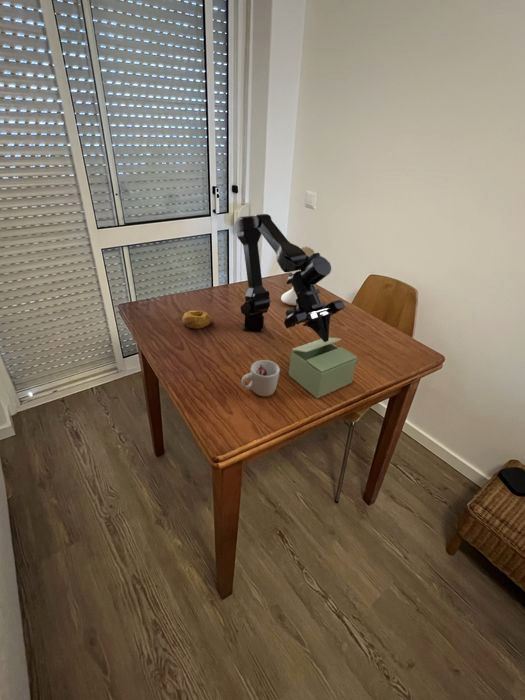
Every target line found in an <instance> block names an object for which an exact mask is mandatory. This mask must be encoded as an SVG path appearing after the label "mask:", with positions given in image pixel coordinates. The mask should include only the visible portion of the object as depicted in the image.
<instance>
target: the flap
mask: <svg viewBox="0 0 525 700" xmlns="http://www.w3.org/2000/svg"><path fill="white" fill-rule="evenodd" d="M339 341H342V338H338V337H329V340H328V341H327V342H324V341H323V340H322V339H321V338H320V339H316V340H314V341H311V342H308V343H305V344H302V345H298V346H297V347H294V348H291V351H300V352H309V351H311V350H314V349H317V348H320V347H323V346H325V345H328V344H331V343H332V344H334V343H336V342H339Z"/></svg>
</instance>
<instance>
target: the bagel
mask: <svg viewBox="0 0 525 700" xmlns="http://www.w3.org/2000/svg"><path fill="white" fill-rule="evenodd" d="M181 320H182V323H183V324H184V325H185V326H186V327H187V328H190V329H195V330H197V329H198V330H199V329H204V328H206V327H208V326H209V325H210V324H211V323H212V322H213V317H211V315H209V313H208V312H206V311H205V310H189V311H187V312H185V313H184V314H183V315H182V319H181Z"/></svg>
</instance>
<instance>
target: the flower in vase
mask: <svg viewBox="0 0 525 700" xmlns="http://www.w3.org/2000/svg"><path fill="white" fill-rule="evenodd" d="M299 248H300V249H302V250H303V251H304V252H305V254H306V255H307V256H308V257H310V256H311V255H312V254H313V253H315V250H314V249H313V248H311V246H310V247H309V246H307V245H306V246H302V247H299ZM297 271H301V270H297ZM297 271H292V272H290V273H291V274H294V273H296V272H297ZM280 299H281V301H282V303H284V304H286V305H289V306H293V307H294V306H296V307H297V304H296V299H297V295H296V293H295V290H294V288H293V286H292V287H291V288H290V289H289V290H288V291H286V292H284V293H282V295H281V297H280Z"/></svg>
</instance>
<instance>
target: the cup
mask: <svg viewBox="0 0 525 700" xmlns="http://www.w3.org/2000/svg"><path fill="white" fill-rule="evenodd" d="M280 372H281V368H280V366H279V365H278V364H277V363H276V362H275V361H271V360H269V359H261V360H260V359H259V360H257V361H255V362H253V363H252V364H251V366H250V372H249V373H246V374H244V375H243V376H242V378H241V381H240V382H241V386H242V388H243V389H245V390H252V391H253V393H254V394H255V395H257V396H259V397H270V396H272V395H274V393H275V392H276V389H277V386H278V382H279V377H280ZM248 379H249V380H250V382H249V383H248V384H246V381H247V380H248Z"/></svg>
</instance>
